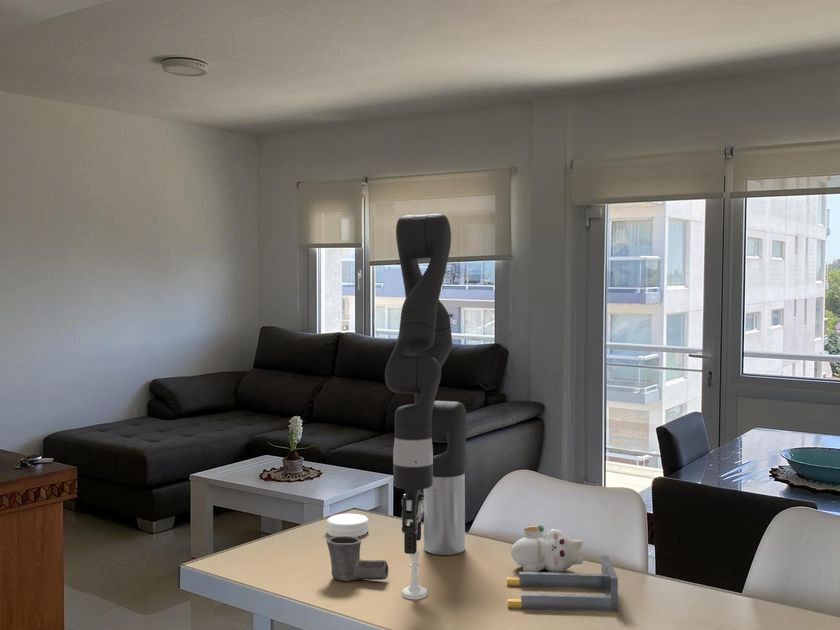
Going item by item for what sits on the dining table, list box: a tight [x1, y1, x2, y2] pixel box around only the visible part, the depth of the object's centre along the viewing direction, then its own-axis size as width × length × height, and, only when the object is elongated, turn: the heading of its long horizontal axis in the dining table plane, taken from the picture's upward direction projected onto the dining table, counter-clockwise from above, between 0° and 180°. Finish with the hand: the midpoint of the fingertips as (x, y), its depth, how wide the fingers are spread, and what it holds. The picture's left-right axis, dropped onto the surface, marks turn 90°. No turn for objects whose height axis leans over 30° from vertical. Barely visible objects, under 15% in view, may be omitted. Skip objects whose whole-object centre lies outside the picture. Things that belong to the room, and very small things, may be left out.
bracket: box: [506, 555, 619, 612], centre depth 148 cm, size 12×20×6 cm, turn 85°
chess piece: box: [401, 550, 428, 600], centre depth 150 cm, size 5×5×10 cm
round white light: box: [326, 513, 370, 538], centre depth 190 cm, size 10×10×4 cm
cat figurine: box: [510, 524, 584, 573], centre depth 163 cm, size 10×8×15 cm
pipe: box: [325, 536, 389, 582], centre depth 158 cm, size 6×13×8 cm, turn 78°
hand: (412, 546), depth 150 cm, fingers open, 8 cm apart
